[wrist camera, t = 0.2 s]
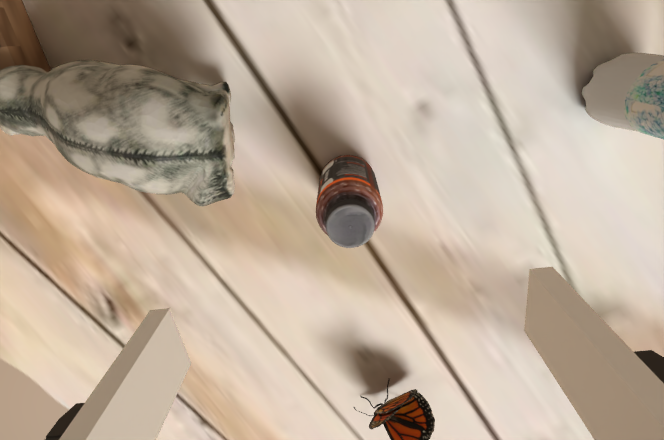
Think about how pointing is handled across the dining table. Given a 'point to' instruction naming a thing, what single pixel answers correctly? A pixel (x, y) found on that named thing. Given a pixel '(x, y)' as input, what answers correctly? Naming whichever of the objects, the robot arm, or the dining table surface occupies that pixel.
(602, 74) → the bottle
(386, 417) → the butterfly
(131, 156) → the figurine
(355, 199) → the supplement bottle
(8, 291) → the dining table surface
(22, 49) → the rack
